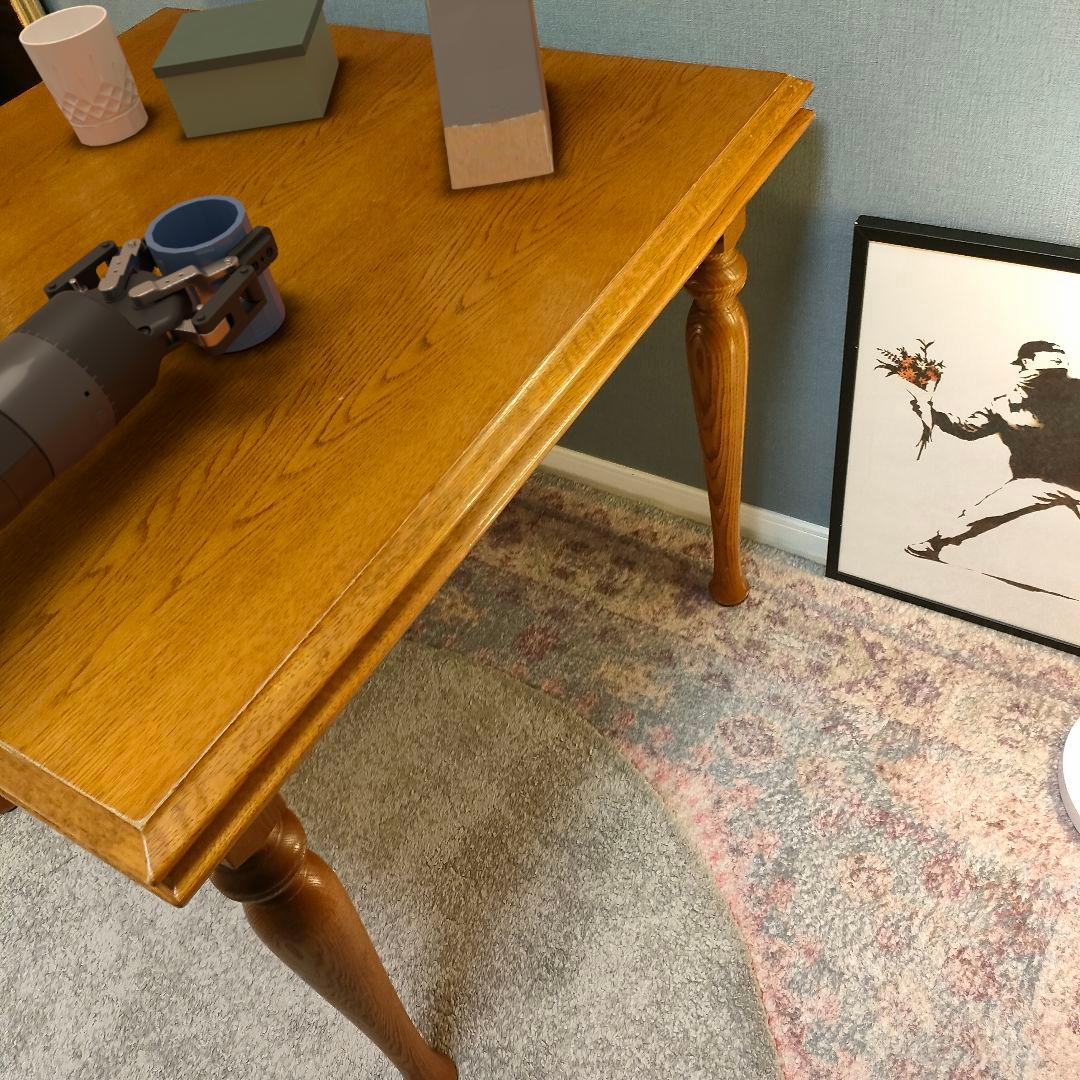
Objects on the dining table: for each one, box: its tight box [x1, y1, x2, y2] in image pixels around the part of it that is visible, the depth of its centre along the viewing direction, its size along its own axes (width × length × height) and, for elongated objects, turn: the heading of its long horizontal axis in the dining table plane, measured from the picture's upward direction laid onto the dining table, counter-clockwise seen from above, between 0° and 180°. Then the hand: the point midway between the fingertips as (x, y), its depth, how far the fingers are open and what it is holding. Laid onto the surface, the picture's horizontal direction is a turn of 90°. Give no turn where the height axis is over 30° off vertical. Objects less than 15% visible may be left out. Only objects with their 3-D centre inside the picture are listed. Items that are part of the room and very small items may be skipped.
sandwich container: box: [424, 0, 555, 190], centre depth 78 cm, size 9×15×15 cm, turn 3°
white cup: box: [18, 4, 149, 147], centre depth 92 cm, size 8×8×10 cm
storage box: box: [151, 0, 340, 139], centre depth 93 cm, size 14×12×7 cm
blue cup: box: [144, 194, 286, 354], centre depth 68 cm, size 7×7×8 cm
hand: (226, 230), depth 67 cm, fingers closed on blue cup, 6 cm apart
